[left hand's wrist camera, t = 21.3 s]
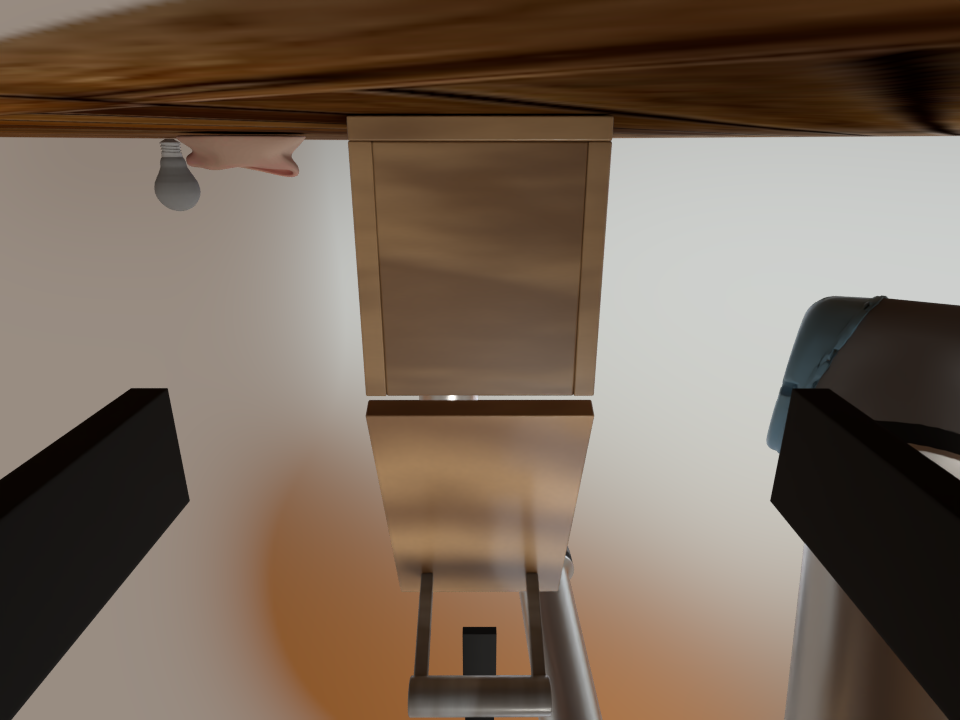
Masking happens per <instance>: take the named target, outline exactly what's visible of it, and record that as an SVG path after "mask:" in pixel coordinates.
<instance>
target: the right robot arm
mask: <svg viewBox="0 0 960 720" xmlns="http://www.w3.org/2000/svg"><path fill="white" fill-rule="evenodd" d="M419 400H478V395H424V396H419ZM573 573H574V567H573V563H572V559H571V555H570V551H569V548H568V546H567V550H566V555H565V560H564V565H563V569H562V574H561V579H560V584H559V589H558V591H539V593H540V606H541V619H542V632H543V645H544V658H545V671H546V675H548V676H549V678H550V683H551V693H552V714H551V717H539V720H602V717H601V712H600V708H599V704H598V699H597V695H596V691H595V687H594V682H593V678H592V674H591V669H590V665H589V661H588V656H587V652H586V648H585V644H584V639H583V635H582V631H581V627H580V622H579V618H578V613H577V609H576V605H575V601H574V596H573V592H572V588H571V584H570V579H571V577H572V575H573ZM519 594H520V600H521V607H522V613H523V620H524V626H525V633H526V639H527V646H528V652H529V659H530V644H529V627H528V611H527V594H526V591H519ZM530 665H531V660H530ZM471 675H496V627H463V676H471ZM465 720H494V717H465Z"/></svg>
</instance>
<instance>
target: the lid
mask: <svg viewBox="0 0 960 720" xmlns="http://www.w3.org/2000/svg"><path fill="white" fill-rule="evenodd" d="M593 419H594V412H593V407H592V402H591V400H369V402H368V406H367V412H366V420H367V425H368V430H369V435H370V439H371V445H372V449H373V454H374V459H375V464H376V469H377V474H378V479H379V484H380V489H381V494H382V499H383V504H384V509H385V514H386V519H387V524H388V529H389V534H390V539H391V544H392V549H393V554H394V559H395V564H396V569H397V574H398V579H399V584H400V589H401V591H402V592H420V597H419V611H418V625H417V639H416V653H415V666H414V676H411V677H410V682H409V691H408V715H409V717H551V714H552V693H551V683H550V678H549V676H548V675H546V671H545V658H544V645H543V632H542V619H541V606H540V593H539V591H558V589H559V584H560V579H561V574H562V569H563V565H564V560H565V555H566V550H567V545H568V540H569V535H570V531H571V526H572V521H573V516H574V511H575V506H576V501H577V497H578V492H579V487H580V482H581V477H582V472H583V467H584V463H585V458H586V453H587V448H588V443H589V438H590V433H591V429H592V424H593ZM463 591H464V592H467V591H468V592H471V591H473V592H476V591H478V592H479V591H526V594H527V611H528V627H529V644H530V660H531V675H471V676H428V671H429V653H430V635H431V618H432V599H433V592H463Z"/></svg>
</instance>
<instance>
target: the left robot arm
mask: <svg viewBox="0 0 960 720" xmlns="http://www.w3.org/2000/svg"><path fill="white" fill-rule="evenodd" d="M767 445H768V446H769V447H770V448H771V449H773V450H776V451H777V452H778V453H780V454H779V459H778V464H777V469H776V474H775V479H774V485H773V490H772V495H771V500H770V501H771V502H772V504H773V505H774V506H775V507H776V508H777V510H778V511H779V512H780V513H781V515H782V516H783V517H784V518H785V520H786V521H787V522H788V523H789V524H790V526H791V527H792V528H793V529H794V531H795V532H796V533H797V534H798V536H799V537H800V538H801V539H802V540H803V542H804V549H803V558H802V567H801V576H800V585H799V593H798V602H797V612H796V620H795V629H794V638H793V647H792V656H791V665H790V674H789V683H788V692H787V701H786V710H785V718H784V720H960V306H959V305H948V304H938V303H928V302H918V301H908V300H898V299H888V298H887V297H886V296H876V297H873V298H860V297H843V296H832V297H826V298H823V299H821V300H819V301H817V302H815V303H814V304H813V305H812V306H811V307H810V308H809V309H808V310H807V312H806V314H805V316H804V318H803V320H802V323H801V326H800V328H799V331H798V334H797V337H796V340H795V343H794V346H793V349H792V352H791V355H790V358H789V362H788V365H787V368H786V372H785V375H784V379H783V384H782V387H781V389H780V392H779V396H778V399H777V401H776V405H775V408H774V411H773V415H772V419H771V422H770V426H769V430H768V435H767ZM189 501H190V500H189V495H188V490H187V485H186V480H185V474H184V469H183V464H182V459H181V454H180V449H179V444H178V439H177V434H176V429H175V423H174V418H173V413H172V408H171V403H170V398H169V393H168V389H167V388H131V389H130V390H128V391H127V392H125V393H124V394H122V395H121V396H119V397H118V398H117V399H115V400H114V401H112V402H111V403H109V404H108V405H107V406H105V407H104V408H102V409H101V410H99V411H98V412H97V413H95V414H94V415H92V416H91V417H89V418H88V419H87V420H85V421H84V422H82V423H81V424H79V425H78V426H77V427H75V428H74V429H72V430H71V431H69V432H68V433H67V434H65V435H64V436H62V437H61V438H59V439H58V440H56V441H55V442H54V443H52V444H51V445H49V446H48V447H47V448H45V449H44V450H42V451H41V452H39V453H38V454H36V455H35V456H34V457H32V458H31V459H29V460H28V461H27V462H25V463H24V464H22V465H21V466H19V467H18V468H16V469H15V470H14V471H12V472H11V473H9V474H8V475H6V476H5V477H3V478H2V479H1V480H0V720H12V718H13V717H14V716H15V715H16V713H17V712H18V711H19V710H20V709H21V707H22V706H23V705H24V704H25V702H26V701H27V700H28V699H29V697H30V696H31V695H32V694H33V693H34V691H35V690H36V689H37V688H38V686H39V685H40V684H41V683H42V682H43V680H44V679H45V678H46V677H47V675H48V674H49V673H50V672H51V670H52V669H53V668H54V667H55V666H56V664H57V663H58V662H59V661H60V659H61V658H62V657H63V656H64V654H65V653H66V652H67V651H68V650H69V648H70V647H71V646H72V645H73V644H74V642H75V641H76V640H77V639H78V637H79V636H80V635H81V634H82V632H83V631H84V630H85V629H86V627H87V626H88V625H89V624H90V623H91V621H92V620H93V619H94V618H95V617H96V615H97V614H98V613H99V611H100V610H101V609H102V608H103V607H104V605H105V604H106V603H107V602H108V601H109V599H110V598H111V597H112V596H113V594H114V593H115V592H116V591H117V590H118V588H119V587H120V586H121V585H122V583H123V582H124V581H125V580H126V578H127V577H128V576H129V575H130V574H131V572H132V571H133V570H134V569H135V567H136V566H137V565H138V564H139V562H140V561H141V560H142V559H143V558H144V556H145V555H146V554H147V553H148V551H149V550H150V549H151V548H152V547H153V545H154V544H155V543H156V542H157V540H158V539H159V538H160V537H161V535H162V534H163V533H164V532H165V531H166V529H167V528H168V527H169V526H170V524H171V523H172V522H173V521H174V520H175V518H176V517H177V516H178V515H179V513H180V512H181V511H182V510H183V508H184V507H185V506H186V505H187V504H188V502H189Z"/></svg>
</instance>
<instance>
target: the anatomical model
mask: <svg viewBox="0 0 960 720" xmlns="http://www.w3.org/2000/svg"><path fill="white" fill-rule="evenodd" d="M176 138H177V139H178V140H179V141H181V142H182V143H183V144H185V145H187V146H188V147H190V148H191V149H192V151H193V152H192V153H191V154H189V155H188V156H187V158H186V161H187V164H188V165H189V166H193V167H201V168H205V169H210V170H223V169H228V168H234V167H241V168H247V169H252V170H258V171H262V172H266V173H271V174H275V175H280V176H286V177H295V176H297V175H298V174H299V169H298V166H297V165H296V163H295V162H294V161H293V159H292V157H291V156H292V153H293V151H294V150H295V149H296V148H297V147H298V146H299V145H300V144H301V143H302V142H303V140H304V139H305V137H304V136H288V135H180V136H177V137H176Z"/></svg>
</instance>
